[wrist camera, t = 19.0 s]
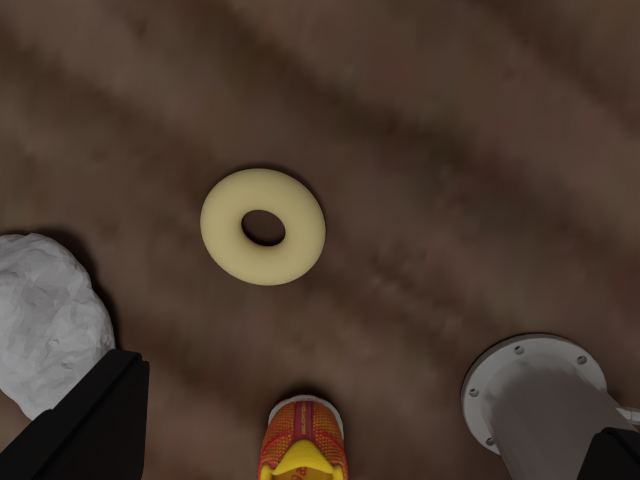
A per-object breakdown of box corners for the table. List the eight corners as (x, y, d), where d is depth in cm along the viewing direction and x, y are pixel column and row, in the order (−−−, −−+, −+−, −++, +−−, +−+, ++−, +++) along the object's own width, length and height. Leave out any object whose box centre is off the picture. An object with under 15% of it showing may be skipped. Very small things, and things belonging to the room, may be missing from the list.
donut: (294, 280, 41) (343, 194, 37) (294, 310, 37) (348, 217, 33) (190, 237, 39) (230, 141, 35) (176, 265, 34) (221, 159, 31)
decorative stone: (-75, 267, 36) (-112, 287, 28) (49, 211, 41) (51, 215, 32) (44, 424, 42) (44, 481, 33) (143, 361, 46) (165, 397, 38)
